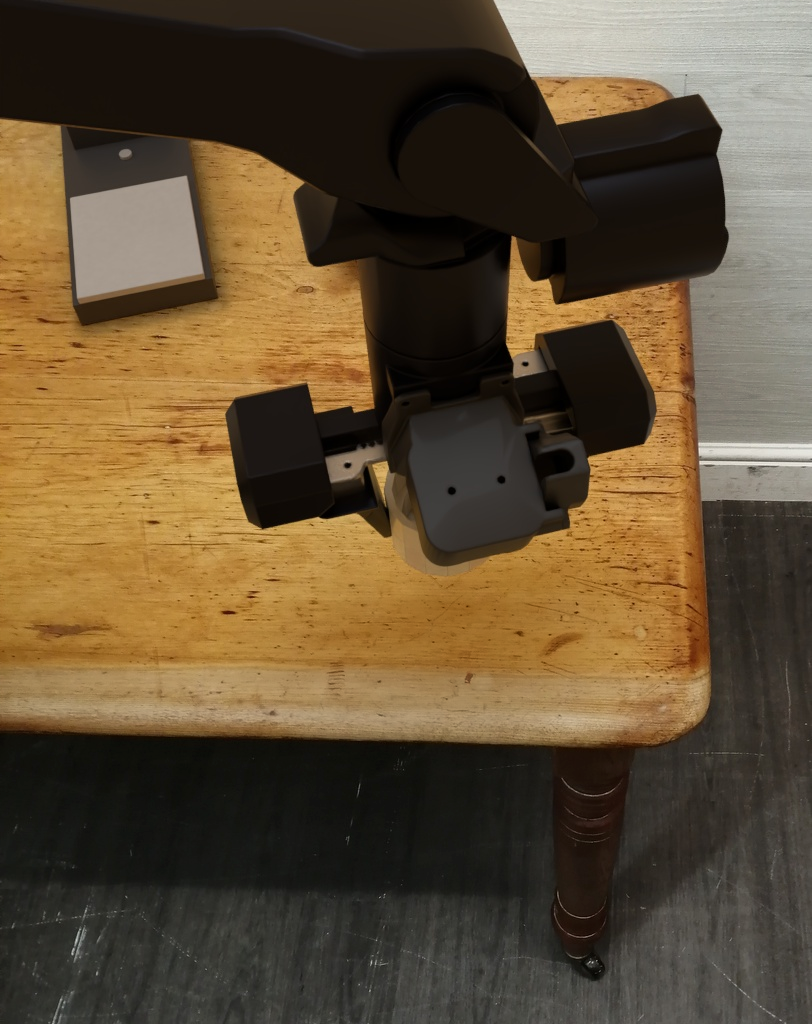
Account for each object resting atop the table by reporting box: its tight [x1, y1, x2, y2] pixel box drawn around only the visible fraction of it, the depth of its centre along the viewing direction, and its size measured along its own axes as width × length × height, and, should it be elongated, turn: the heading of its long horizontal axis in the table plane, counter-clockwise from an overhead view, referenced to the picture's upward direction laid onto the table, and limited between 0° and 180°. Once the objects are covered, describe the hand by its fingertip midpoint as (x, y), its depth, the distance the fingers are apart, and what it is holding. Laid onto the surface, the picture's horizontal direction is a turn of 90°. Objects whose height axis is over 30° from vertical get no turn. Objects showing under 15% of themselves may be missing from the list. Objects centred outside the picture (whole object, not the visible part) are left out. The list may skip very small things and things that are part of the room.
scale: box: [60, 126, 219, 326], centre depth 77 cm, size 10×26×5 cm, turn 13°
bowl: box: [383, 469, 490, 578], centre depth 51 cm, size 6×6×4 cm
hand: (442, 517), depth 52 cm, fingers closed on bowl, 6 cm apart
